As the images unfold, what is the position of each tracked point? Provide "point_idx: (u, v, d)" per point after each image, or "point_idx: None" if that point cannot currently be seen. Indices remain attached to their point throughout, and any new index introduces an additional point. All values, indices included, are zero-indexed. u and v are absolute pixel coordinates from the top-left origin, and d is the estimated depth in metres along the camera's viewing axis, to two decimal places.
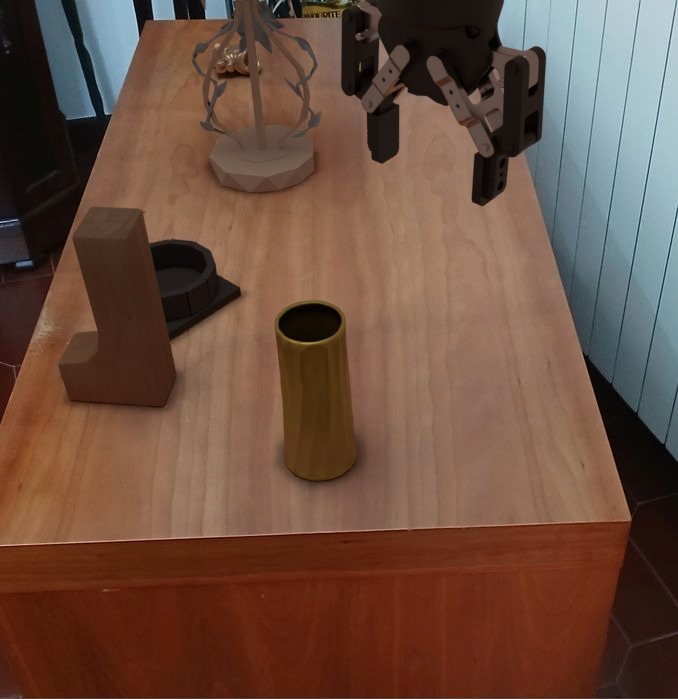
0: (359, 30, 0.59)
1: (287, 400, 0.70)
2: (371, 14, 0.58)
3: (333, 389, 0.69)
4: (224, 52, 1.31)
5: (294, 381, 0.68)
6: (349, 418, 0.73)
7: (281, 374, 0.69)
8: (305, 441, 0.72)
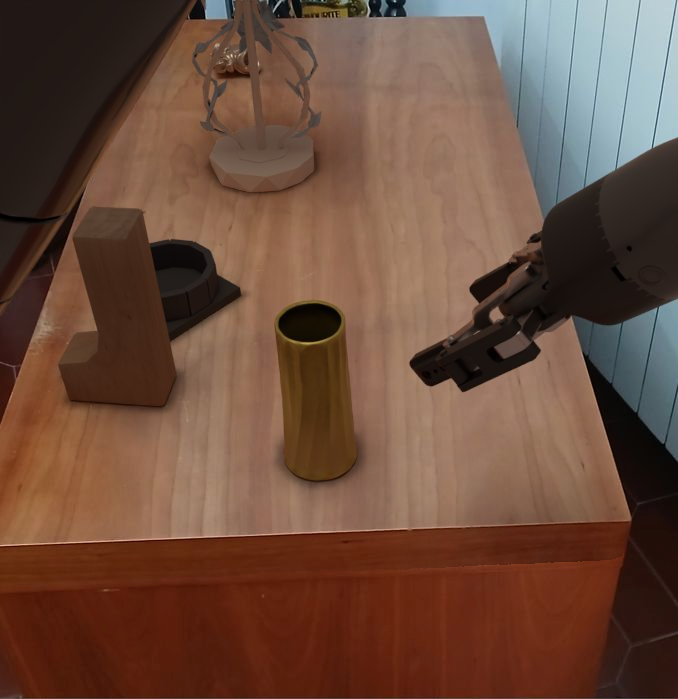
0: None
1: (287, 400, 0.70)
2: None
3: (333, 389, 0.69)
4: (224, 52, 1.31)
5: (294, 381, 0.68)
6: (349, 418, 0.73)
7: (281, 374, 0.69)
8: (305, 441, 0.72)
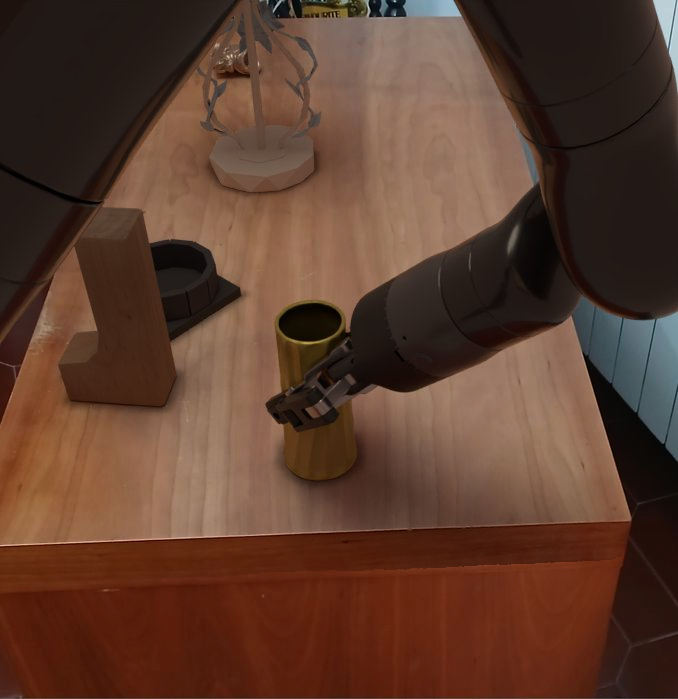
0: None
1: None
2: None
3: None
4: (224, 52, 1.31)
5: (294, 381, 0.68)
6: (349, 418, 0.73)
7: (281, 374, 0.69)
8: (305, 441, 0.72)
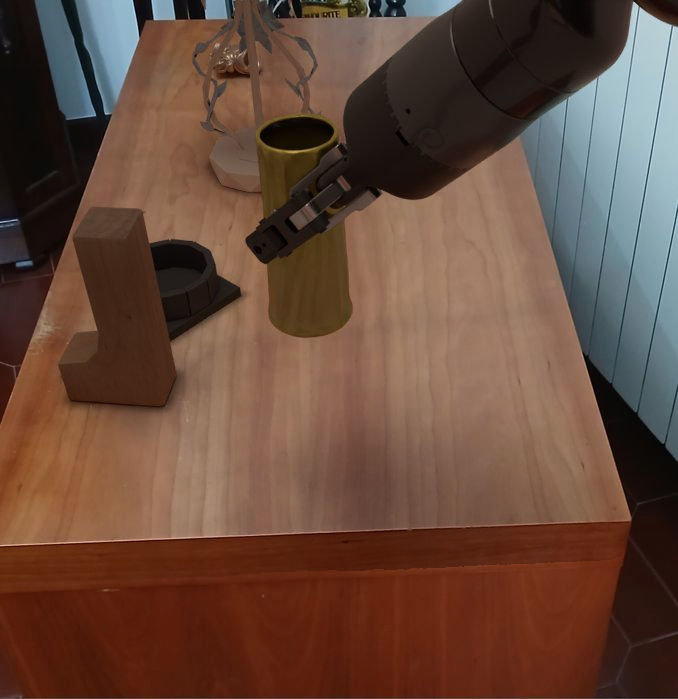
0: None
1: None
2: None
3: None
4: (224, 52, 1.31)
5: (278, 205, 0.58)
6: (344, 262, 0.62)
7: (263, 200, 0.59)
8: (292, 286, 0.62)
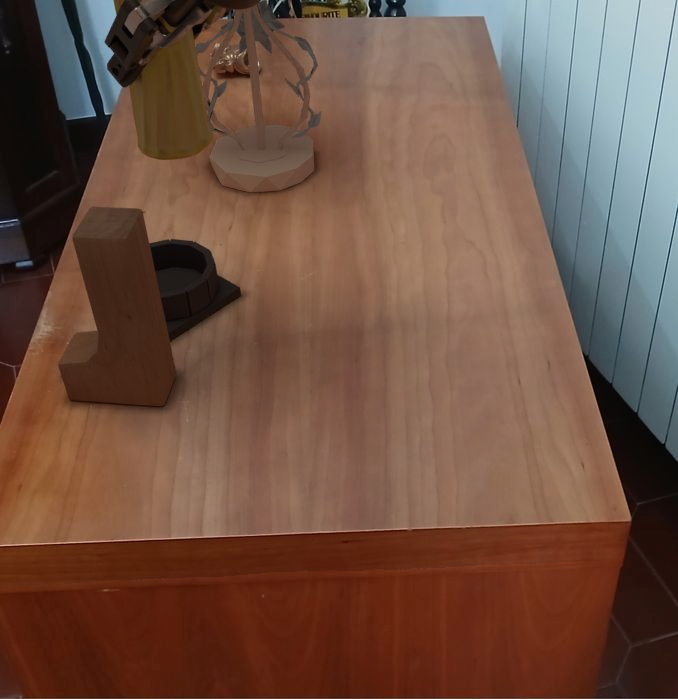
0: None
1: None
2: None
3: None
4: (224, 52, 1.31)
5: None
6: (197, 89, 0.71)
7: None
8: (150, 108, 0.71)
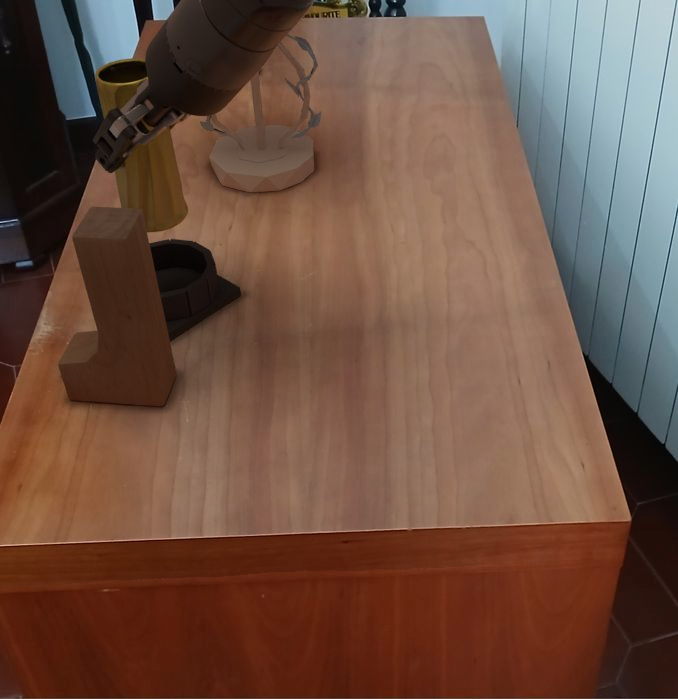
0: None
1: None
2: None
3: None
4: None
5: None
6: (173, 172, 0.83)
7: None
8: (133, 190, 0.82)
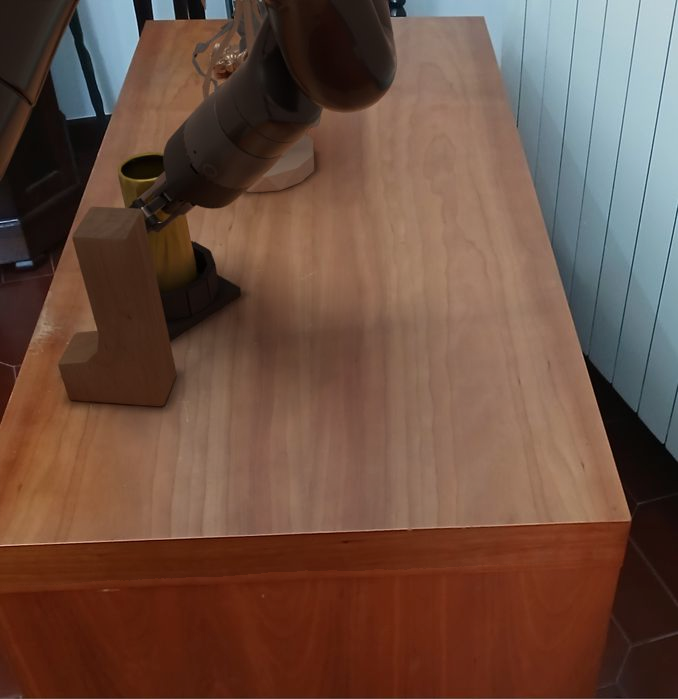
0: None
1: None
2: None
3: None
4: (224, 52, 1.31)
5: None
6: (189, 255, 0.89)
7: None
8: None
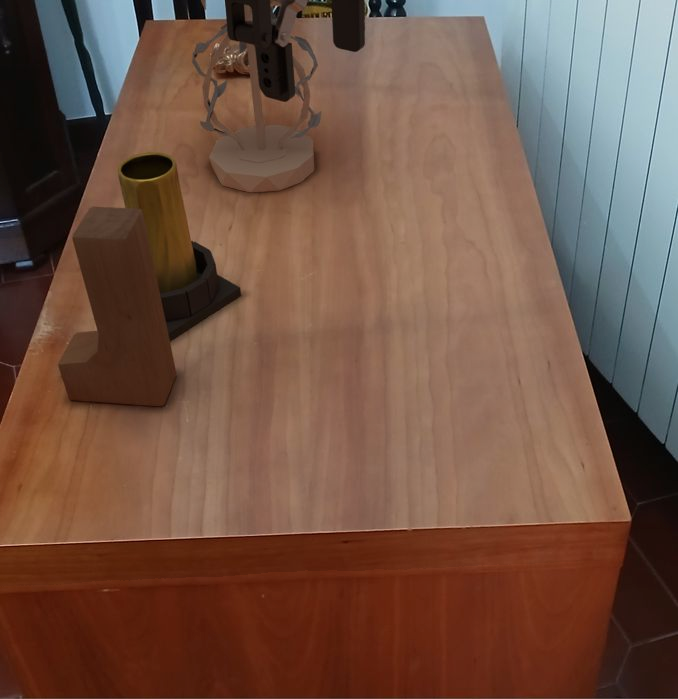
0: None
1: None
2: None
3: (168, 224, 0.85)
4: (224, 52, 1.31)
5: None
6: (189, 255, 0.89)
7: None
8: None
